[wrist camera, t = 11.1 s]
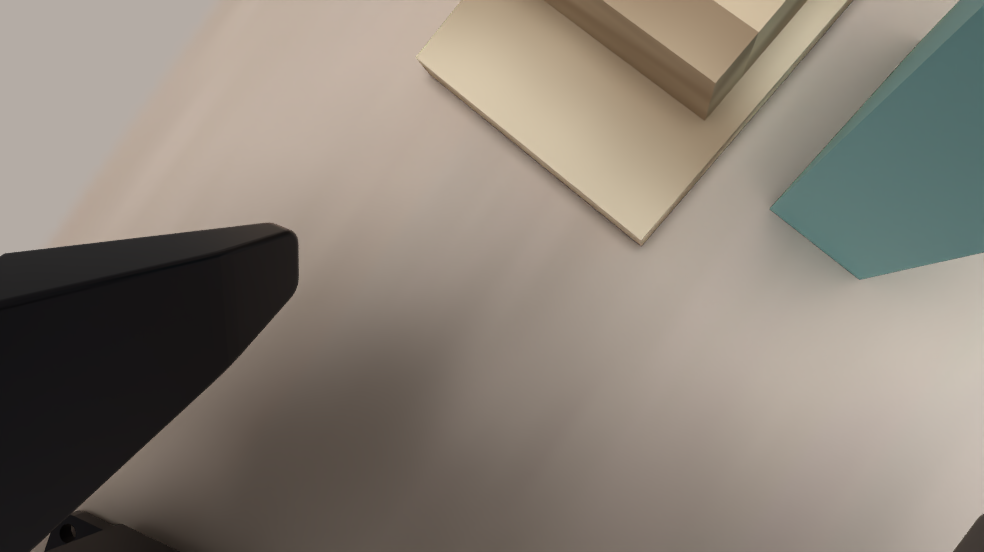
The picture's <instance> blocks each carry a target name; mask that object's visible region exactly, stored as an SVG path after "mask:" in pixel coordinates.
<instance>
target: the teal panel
mask: <svg viewBox="0 0 984 552" xmlns="http://www.w3.org/2000/svg"><path fill="white" fill-rule="evenodd" d="M770 210H771V211H773V212H774V213H775V214H777V215H778V216H779V217H780V218H782V219H783V220H784V221H785V222H787V223H788V224H789V225H791V226H792V227H793V228H794V229H796V230H797V231H798V232H799V233H801V234H802V235H803V236H805V237H806V238H807V239H808V240H810V241H811V242H812V243H813V244H815V245H816V246H817V247H819V248H820V249H821V250H822V251H824V252H825V253H826V254H827V255H829V256H830V257H831V258H833V259H834V260H835V261H836V262H838V263H839V264H840V265H841V266H843V267H844V268H845V269H847V270H848V271H849V272H850V273H852V274H853V275H854V276H855V277H857V278H858V279H859V280H860V279H865V278H870V277H874V276H879V275H883V274H888V273H892V272H897V271H901V270H906V269H910V268H915V267H919V266H924V265H928V264H933V263H937V262H942V261H947V260H951V259H956V258H960V257H965V256H969V255H974V254H978V253H983V252H984V0H960V1H959V2H958V3H957V4H956V5H955V6H954V7H953V8H952V9H951V10H950V11H949V12H948V13H947V14H946V15H945V16H944V17H943V18H942V19H941V20H940V21H939V22H938V23H937V24H936V25H935V27H934V28H933V29H932V30H931V31H930V32H929V33H928V34H927V35H926V36H925V37H924V38H923V39H922V40H921V41H920V42H919V43H918V44H917V46H916V47H915V48H914V49H913V50H912V51H911V52H910V53H909V54H908V56H907V57H906V58H905V59H904V60H903V61H902V62H901V63H900V64H899V66H898V67H897V68H896V69H895V70H894V71H893V72H892V73H891V74H890V76H889V77H888V78H887V79H886V80H885V81H884V82H883V83H882V84H881V86H880V87H879V88H878V89H877V90H876V91H875V92H874V93H873V94H872V96H871V97H870V98H869V99H868V100H867V101H866V102H865V103H864V104H863V106H862V107H861V108H860V109H859V110H858V111H857V112H856V113H855V114H854V116H853V117H852V118H851V119H850V120H849V121H848V122H847V123H846V124H845V126H844V127H843V128H842V129H841V130H840V131H839V132H838V133H837V134H836V136H835V137H834V138H833V139H832V140H831V141H830V142H829V143H828V144H827V146H826V147H825V148H824V149H823V150H822V151H821V152H820V153H819V154H818V156H817V157H816V158H815V159H814V160H813V161H812V162H811V163H810V164H809V166H808V167H807V168H806V169H805V170H804V171H803V172H802V173H801V174H800V176H799V177H798V178H797V179H796V180H795V181H794V182H793V183H792V184H791V186H790V187H789V188H788V189H787V190H786V191H785V192H784V193H783V194H782V196H781V197H780V198H779V199H778V200H777V201H776V202H775V203H774V204H773V206H772V207H771V208H770Z"/></svg>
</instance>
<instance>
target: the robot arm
mask: <svg viewBox="0 0 984 552" xmlns="http://www.w3.org/2000/svg"><path fill="white" fill-rule="evenodd" d="M298 280H299V259H298V238H297V236H296V234H295V233H294V232H293V231H292V230H289V229H287V228H284V227H282V226H279V225H277V224H274V223H260V224H252V225H243V226H235V227H226V228H218V229H209V230H201V231H192V232H184V233H175V234H167V235H158V236H150V237H141V238H133V239H124V240H116V241H107V242H99V243H90V244H82V245H73V246H65V247H56V248H48V249H39V250H31V251H22V252H14V253H5V254H3V255H2V256H0V552H30V551H31V550H32V549H33V548H34V547H35V546H36V545H38V544H39V543H40V542H41V541H42V540H43V539H44V538H45V537H46V536H47V535H48V534H49V533H50V536H49V539H48V542H47V545H46V548H45V551H44V552H179V551H177V550H175V549H173V548H171V547H169V546H167V545H165V544H163V543H161V542H159V541H156V540H154V539H152V538H150V537H148V536H146V535H144V534H142V533H140V532H138V531H136V530H133V529H131V528H129V527H127V526H125V525H123V524H118V525H115V526H113V525H111V524H109V523H107V522H105V521H103V520H101V519H99V518H97V517H95V516H93V515H90V514H88V513H86V512H83V511H75V512H73V511H74V510H75V509H77V508H78V507H79V506H80V505H81V504H82V503H83V502H84V501H85V500H86V499H87V498H88V497H90V496H91V495H92V494H93V493H94V492H95V491H96V490H97V489H98V488H99V487H100V486H101V485H103V484H104V483H105V482H106V481H107V480H108V479H109V478H110V477H111V476H112V475H113V474H114V473H116V472H117V471H118V470H119V469H120V468H121V467H122V466H123V465H124V464H125V463H126V462H127V461H129V460H130V459H131V458H132V457H133V456H134V455H135V454H136V453H137V452H138V451H139V450H140V449H142V448H143V447H144V446H145V445H146V444H147V443H148V442H149V441H150V440H151V439H152V438H153V437H155V436H156V435H157V434H158V433H159V432H160V431H161V430H162V429H163V428H164V427H165V426H166V425H168V424H169V423H170V422H171V421H172V420H173V419H174V418H175V417H176V416H177V415H178V414H179V413H181V412H182V411H183V410H184V409H185V408H186V407H187V406H188V405H189V404H190V403H191V402H192V401H194V400H195V399H196V398H197V397H198V396H199V395H200V394H201V393H202V392H203V391H204V390H205V389H207V388H208V387H209V386H210V385H211V384H212V383H213V382H214V381H215V380H216V379H217V378H218V377H219V376H220V375H221V374H223V373H224V372H225V371H226V370H227V369H228V368H229V367H230V366H231V365H232V363H233V362H234V361H235V360H236V359H237V358H238V357H239V356H240V355H241V354H242V353H243V351H244V350H245V349H246V348H247V347H248V346H249V345H250V344H251V342H252V341H253V340H254V339H255V338H256V337H257V336H258V334H259V333H260V332H261V331H262V330H263V329H264V328H265V327H266V325H267V324H268V323H269V322H270V321H271V320H272V319H273V317H274V316H275V315H276V314H277V313H278V312H279V311H280V310H281V308H282V307H283V306H284V305H285V304H286V303H287V302H288V300H289V299H290V298H291V297H292V296H293V294H294V292H295V291H296V288H297V285H298ZM72 526H73V527H74V528H75V531H76V536H75V537H74V536H73V534H72V532H71V527H72ZM953 552H984V514H983V515H981V516H980V517H979V518H978V519H977V520H976V522H975V523H974V524H973V526H972V527H971V528H970V530H969V531H968V532H967V534H966V535H965V536H964V538H963V539H962V540H961V542H960V543H959V544H958V546H957V547H956V548H955V550H954V551H953Z"/></svg>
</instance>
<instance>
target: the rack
mask: <svg viewBox="0 0 984 552" xmlns="http://www.w3.org/2000/svg"><path fill="white" fill-rule="evenodd" d="M852 1H853V0H461V1H460V3H459V4H458V5H457V6H456V8H455V9H454V10H453V11H452V13H451V14H450V15H449V16H448V18H447V19H446V20H445V21H444V23H443V24H442V25H441V26H440V28H439V29H438V30H437V31H436V33H435V34H434V35H433V36H432V38H431V39H430V40H429V41H428V43H427V44H426V45H425V46H424V48H423V49H422V50H421V51H420V53H419V54H418V55H417V56H416V59H417V60H418V61H419V62H420V63H421V64H422V66H423V67H424V68H425V69H426V70H427V71H428V73H429V74H430V75H431V76H433V77H434V78H435V79H436V80H437V81H439V82H440V83H441V84H442V85H444V86H445V87H446V88H447V89H449V90H450V91H451V92H452V93H453V94H455V95H456V96H457V97H458V98H460V99H461V100H462V101H463V102H464V103H466V104H467V105H468V106H469V107H471V108H472V109H473V110H474V111H476V112H477V113H478V114H479V115H480V116H482V117H483V118H484V119H485V120H487V121H488V122H489V123H490V124H492V125H493V126H494V127H495V128H496V129H498V130H499V131H500V132H501V133H503V134H504V135H505V136H506V137H508V138H509V139H510V140H511V141H512V142H514V143H515V144H516V145H517V146H519V147H520V148H521V149H522V150H524V151H525V152H526V153H527V154H528V155H530V156H531V157H532V158H533V159H535V160H536V161H537V162H538V163H540V164H541V165H542V166H543V167H544V168H546V169H547V170H548V171H549V172H551V173H552V174H553V175H554V176H556V177H557V178H558V179H559V180H560V181H562V182H563V183H564V184H565V185H567V186H568V187H569V188H570V189H572V190H573V191H574V192H575V193H576V194H578V195H579V196H580V197H581V198H583V199H584V200H585V201H586V202H588V203H589V204H590V205H591V206H592V207H594V208H595V209H596V210H597V211H599V212H600V213H601V214H602V215H603V216H605V217H606V218H607V219H608V220H610V221H611V222H612V223H613V224H615V225H616V226H617V227H618V228H619V229H621V230H622V231H623V232H624V233H626V234H627V235H628V236H629V237H631V238H632V239H633V240H634V241H635V242H637V243H638V244H639V245H640V246H642V245H643V244H644V243H645V241H646V240H647V239H648V238H649V237H650V236H651V234H652V233H653V232H654V231H655V230H656V229H657V227H658V226H659V225H660V224H661V223H662V222H663V220H664V219H665V218H666V217H667V216H668V215H669V214H670V212H671V211H672V210H673V209H674V208H675V207H676V205H677V204H678V203H679V202H680V201H681V200H682V198H683V197H684V196H685V195H686V194H687V193H688V191H689V190H690V189H691V188H692V187H693V186H694V184H695V183H696V182H697V181H698V180H699V179H700V177H701V176H702V175H703V174H704V173H705V172H706V171H707V169H708V168H709V167H710V166H711V165H712V164H713V162H714V161H715V160H716V159H717V158H718V157H719V155H720V154H721V153H722V152H723V151H724V150H725V148H726V147H727V146H728V145H729V144H730V143H731V141H732V140H733V139H734V138H735V137H736V136H737V134H738V133H739V132H740V131H741V130H742V129H743V128H744V126H745V125H746V124H747V123H748V122H749V121H750V119H751V118H752V117H753V116H754V115H755V114H756V112H757V111H758V110H759V109H760V108H761V107H762V105H763V104H764V103H765V102H766V101H767V100H768V98H769V97H770V96H771V95H772V94H773V93H774V91H775V90H776V89H777V88H778V87H779V86H780V85H781V83H782V82H783V81H784V80H785V79H786V78H787V76H788V75H789V74H790V73H791V72H792V71H793V69H794V68H795V67H796V66H797V65H798V64H799V62H800V61H801V60H802V59H803V58H804V57H805V55H806V54H807V53H808V52H809V51H810V50H811V48H812V47H813V46H814V45H815V44H816V43H817V42H818V40H819V39H820V38H821V37H822V36H823V35H824V33H825V32H826V31H827V30H828V29H829V28H830V26H831V25H832V24H833V23H834V22H835V21H836V19H837V18H838V17H839V16H840V15H841V14H842V12H843V11H844V10H845V9H846V8H847V7H848V5H849V4H850V3H851V2H852Z"/></svg>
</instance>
